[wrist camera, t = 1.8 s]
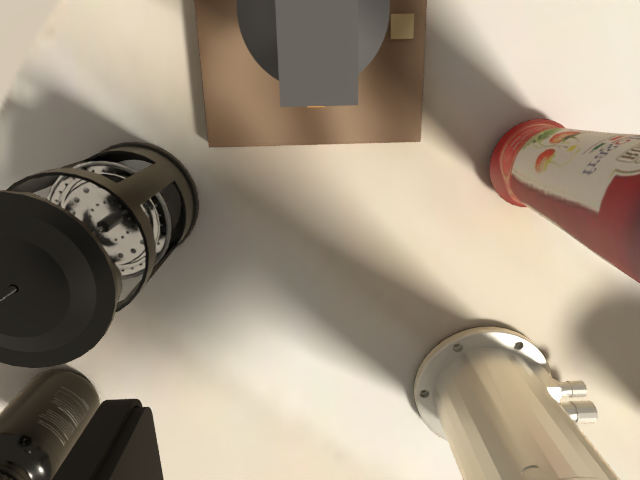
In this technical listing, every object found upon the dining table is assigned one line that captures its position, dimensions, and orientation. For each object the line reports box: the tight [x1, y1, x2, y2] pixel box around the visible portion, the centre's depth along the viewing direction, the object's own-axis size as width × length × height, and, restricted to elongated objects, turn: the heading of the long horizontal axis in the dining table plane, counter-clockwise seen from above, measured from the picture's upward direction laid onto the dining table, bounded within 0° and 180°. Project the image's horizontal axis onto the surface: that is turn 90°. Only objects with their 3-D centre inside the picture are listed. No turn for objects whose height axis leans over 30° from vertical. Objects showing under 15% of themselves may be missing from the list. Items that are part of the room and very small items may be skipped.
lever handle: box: [237, 0, 390, 107], centre depth 21 cm, size 8×9×10 cm
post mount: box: [194, 0, 427, 147], centre depth 30 cm, size 16×16×8 cm
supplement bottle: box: [0, 370, 100, 480], centre depth 38 cm, size 7×7×12 cm
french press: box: [0, 142, 199, 368], centre depth 27 cm, size 12×9×23 cm
